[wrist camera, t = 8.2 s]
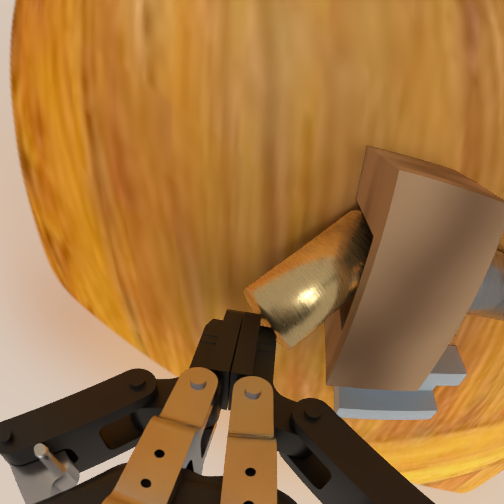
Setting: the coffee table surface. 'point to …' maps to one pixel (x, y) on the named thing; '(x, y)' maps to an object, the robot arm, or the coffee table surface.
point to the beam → (411, 271)
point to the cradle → (401, 394)
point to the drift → (312, 280)
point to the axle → (491, 291)
